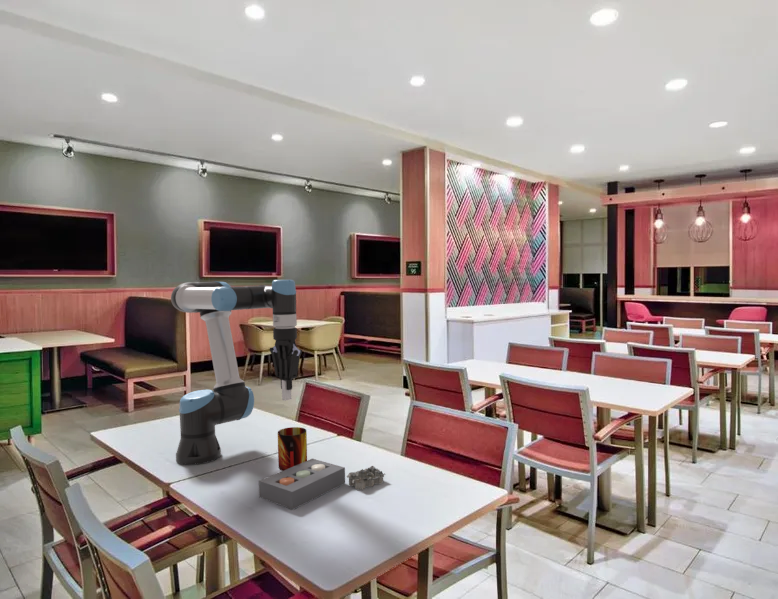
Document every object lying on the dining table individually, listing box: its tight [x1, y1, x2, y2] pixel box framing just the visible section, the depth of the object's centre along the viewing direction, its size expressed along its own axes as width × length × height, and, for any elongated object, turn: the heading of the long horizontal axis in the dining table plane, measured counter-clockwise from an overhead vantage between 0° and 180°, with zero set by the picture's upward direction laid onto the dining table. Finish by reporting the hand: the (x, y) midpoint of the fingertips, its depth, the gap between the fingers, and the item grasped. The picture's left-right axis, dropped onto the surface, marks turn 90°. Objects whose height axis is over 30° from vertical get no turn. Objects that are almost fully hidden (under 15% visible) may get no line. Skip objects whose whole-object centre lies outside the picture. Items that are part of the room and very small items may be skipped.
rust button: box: [280, 477, 294, 486], centre depth 153 cm, size 4×4×3 cm
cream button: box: [311, 464, 325, 471], centre depth 163 cm, size 4×4×3 cm
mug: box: [277, 426, 308, 471], centre depth 176 cm, size 10×14×12 cm
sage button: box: [296, 470, 310, 478], centre depth 158 cm, size 4×4×3 cm
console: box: [258, 458, 346, 511], centre depth 158 cm, size 14×22×5 cm, turn 144°
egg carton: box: [346, 465, 386, 491], centre depth 163 cm, size 11×8×4 cm
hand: (286, 399), depth 171 cm, fingers closed
